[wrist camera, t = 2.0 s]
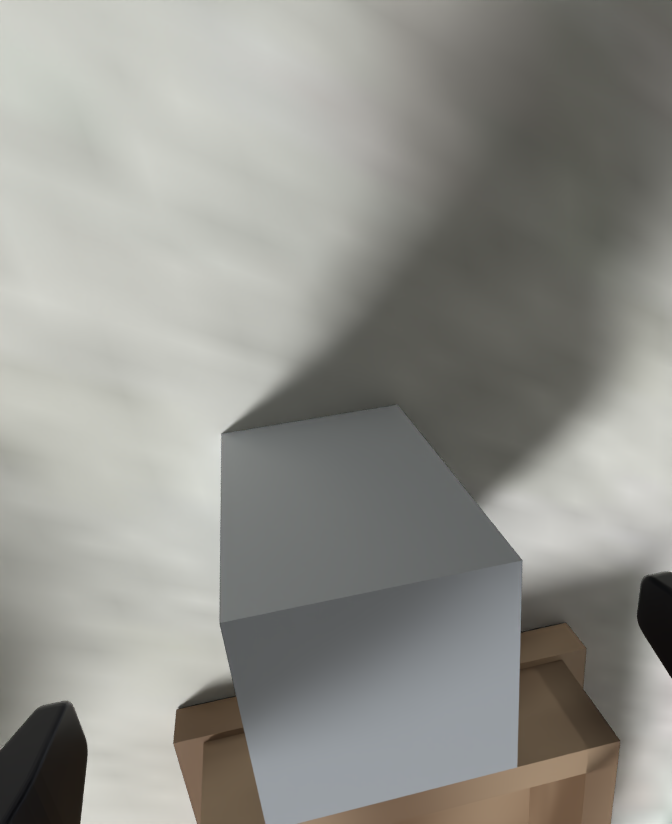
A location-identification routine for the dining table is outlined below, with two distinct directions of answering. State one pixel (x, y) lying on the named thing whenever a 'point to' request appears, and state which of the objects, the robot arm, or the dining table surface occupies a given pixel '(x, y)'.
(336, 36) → the dining table surface
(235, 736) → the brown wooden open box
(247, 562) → the block
